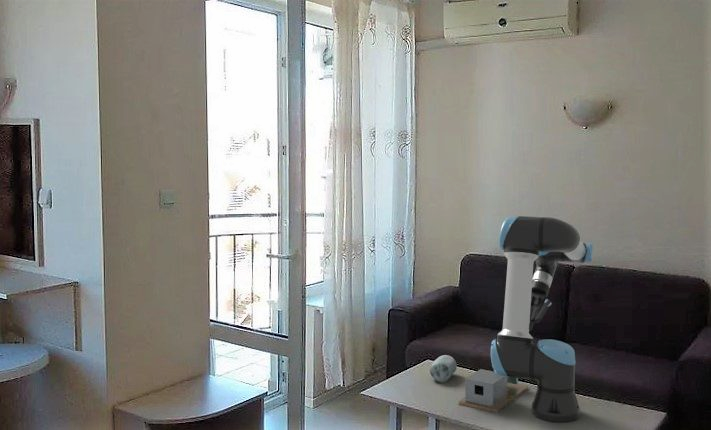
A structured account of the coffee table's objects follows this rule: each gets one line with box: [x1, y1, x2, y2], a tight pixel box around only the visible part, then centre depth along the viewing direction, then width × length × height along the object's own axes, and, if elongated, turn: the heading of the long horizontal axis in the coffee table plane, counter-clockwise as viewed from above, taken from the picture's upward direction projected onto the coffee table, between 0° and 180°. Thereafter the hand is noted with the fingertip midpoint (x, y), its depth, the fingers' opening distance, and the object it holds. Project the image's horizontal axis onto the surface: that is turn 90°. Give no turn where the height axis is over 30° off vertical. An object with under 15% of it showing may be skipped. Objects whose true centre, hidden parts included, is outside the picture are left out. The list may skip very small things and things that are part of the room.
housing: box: [458, 368, 529, 414], centre depth 244 cm, size 27×14×9 cm, turn 145°
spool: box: [429, 354, 458, 383], centre depth 263 cm, size 14×10×10 cm
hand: (524, 336), depth 265 cm, fingers closed
